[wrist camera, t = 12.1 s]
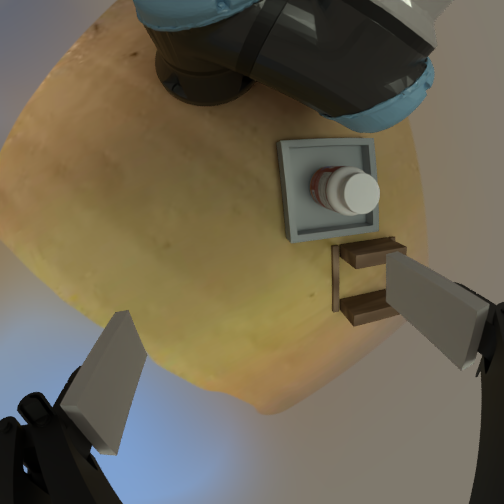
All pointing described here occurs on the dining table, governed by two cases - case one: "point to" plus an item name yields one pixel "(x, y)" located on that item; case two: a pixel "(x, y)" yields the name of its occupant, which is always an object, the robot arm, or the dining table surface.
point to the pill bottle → (344, 190)
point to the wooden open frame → (358, 257)
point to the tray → (298, 186)
